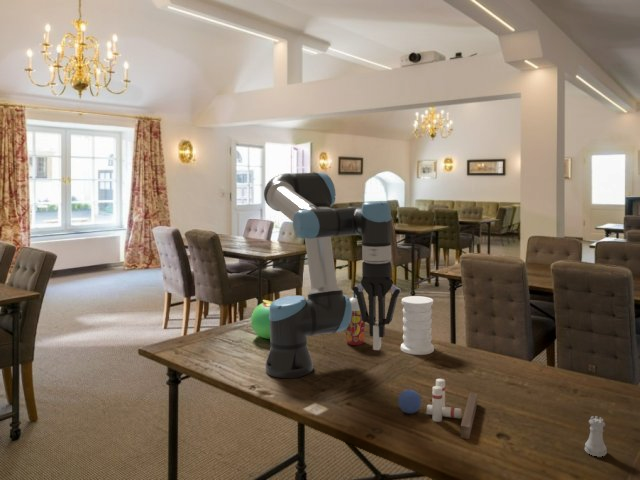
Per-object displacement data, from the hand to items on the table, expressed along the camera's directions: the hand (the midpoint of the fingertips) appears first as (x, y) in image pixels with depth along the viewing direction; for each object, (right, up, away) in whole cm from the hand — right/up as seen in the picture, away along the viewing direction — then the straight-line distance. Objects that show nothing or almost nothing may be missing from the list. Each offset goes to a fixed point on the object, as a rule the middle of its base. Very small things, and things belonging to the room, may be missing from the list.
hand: (377, 348), depth 143 cm
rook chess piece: (+46, -19, -23) cm, 55 cm away
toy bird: (-33, -9, +64) cm, 73 cm away
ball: (+8, -14, -2) cm, 16 cm away
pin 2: (+15, -17, -6) cm, 23 cm away
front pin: (+13, -15, -3) cm, 20 cm away
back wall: (+23, -17, -7) cm, 29 cm away
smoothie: (-2, -9, +55) cm, 56 cm away
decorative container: (+19, -10, +47) cm, 52 cm away
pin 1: (+16, -16, -1) cm, 23 cm away
